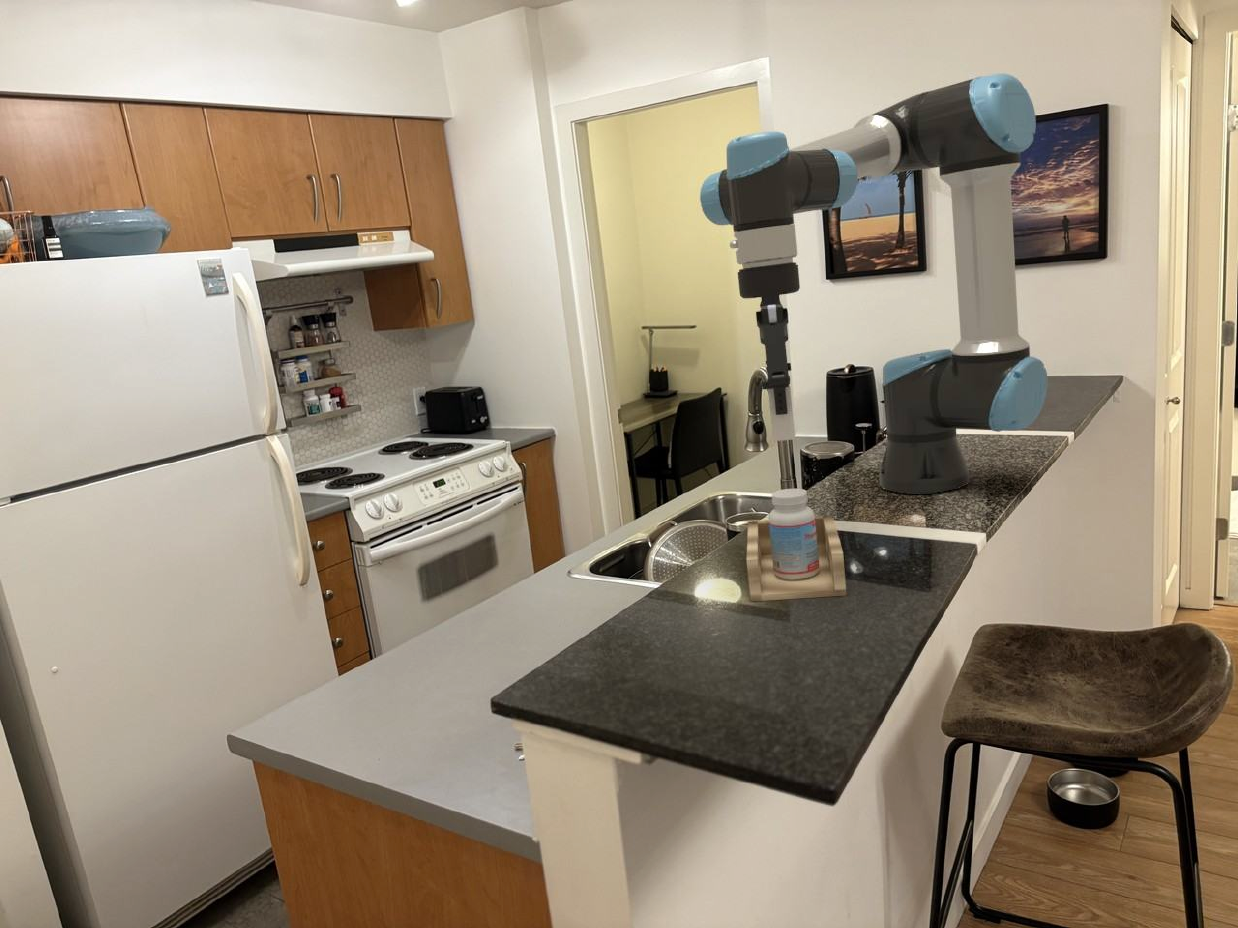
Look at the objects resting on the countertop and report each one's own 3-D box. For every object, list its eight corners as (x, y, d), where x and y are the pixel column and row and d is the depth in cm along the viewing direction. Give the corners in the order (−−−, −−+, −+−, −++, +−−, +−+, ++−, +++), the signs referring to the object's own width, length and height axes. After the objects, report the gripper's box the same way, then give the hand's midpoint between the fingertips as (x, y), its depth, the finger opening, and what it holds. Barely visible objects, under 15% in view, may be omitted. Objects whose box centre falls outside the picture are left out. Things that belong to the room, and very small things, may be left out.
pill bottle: (820, 579, 120) (813, 496, 118) (773, 582, 122) (765, 500, 119) (819, 564, 126) (812, 485, 124) (774, 567, 127) (766, 488, 125)
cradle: (751, 558, 135) (748, 521, 134) (835, 552, 133) (832, 514, 132) (750, 601, 118) (746, 559, 117) (846, 595, 116) (843, 552, 115)
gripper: (739, 266, 128) (754, 416, 132) (734, 269, 104) (752, 452, 108) (793, 259, 127) (807, 410, 131) (801, 260, 103) (817, 446, 107)
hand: (782, 429), depth 120 cm, fingers open, 13 cm apart
